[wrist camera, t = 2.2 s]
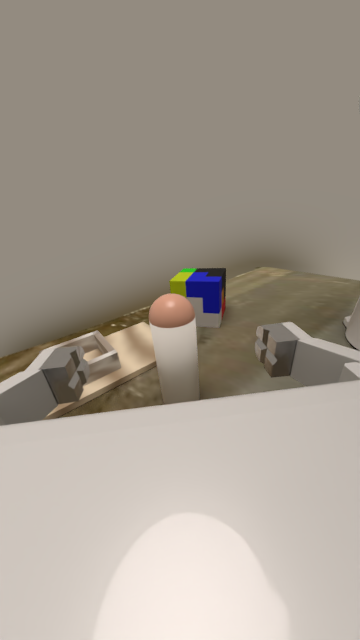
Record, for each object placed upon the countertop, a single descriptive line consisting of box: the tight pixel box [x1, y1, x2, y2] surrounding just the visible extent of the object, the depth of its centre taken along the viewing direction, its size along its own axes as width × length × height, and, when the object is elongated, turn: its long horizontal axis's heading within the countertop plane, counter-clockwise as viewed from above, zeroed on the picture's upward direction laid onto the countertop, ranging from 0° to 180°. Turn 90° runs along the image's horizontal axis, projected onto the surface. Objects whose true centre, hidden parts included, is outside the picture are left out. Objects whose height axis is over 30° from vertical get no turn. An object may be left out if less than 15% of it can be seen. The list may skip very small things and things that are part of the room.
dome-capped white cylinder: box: [149, 294, 200, 405], centre depth 25 cm, size 5×5×14 cm
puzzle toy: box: [169, 268, 226, 328], centre depth 47 cm, size 10×10×10 cm
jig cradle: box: [39, 322, 157, 420], centre depth 36 cm, size 22×14×4 cm, turn 127°
